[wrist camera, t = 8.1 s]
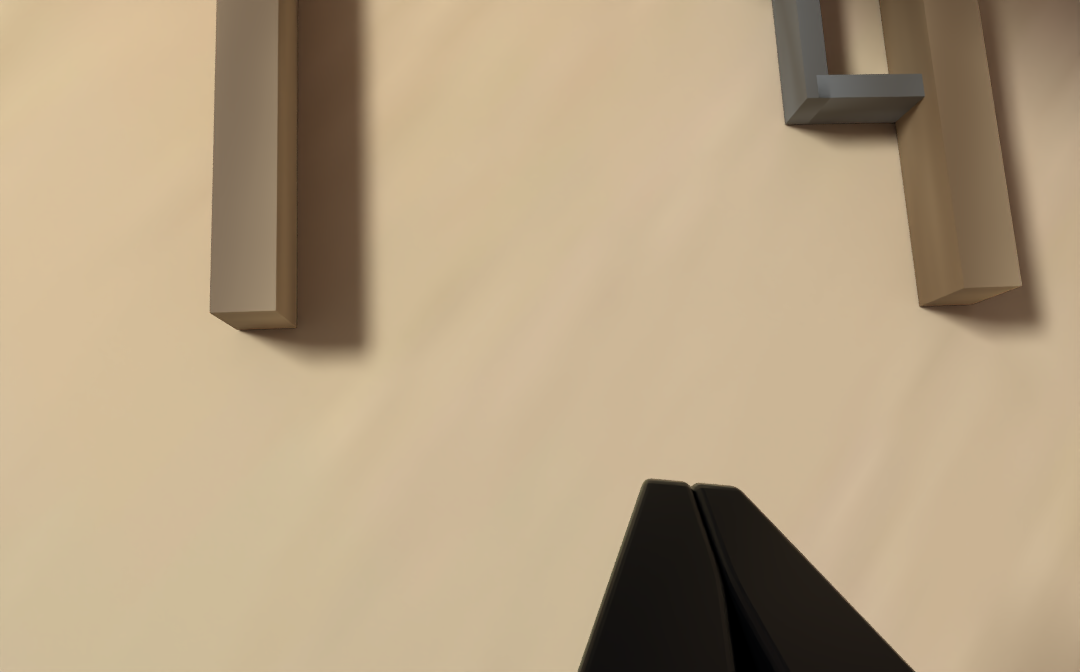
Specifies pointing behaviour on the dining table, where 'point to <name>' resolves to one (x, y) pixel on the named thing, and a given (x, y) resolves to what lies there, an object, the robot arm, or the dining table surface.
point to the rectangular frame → (808, 98)
